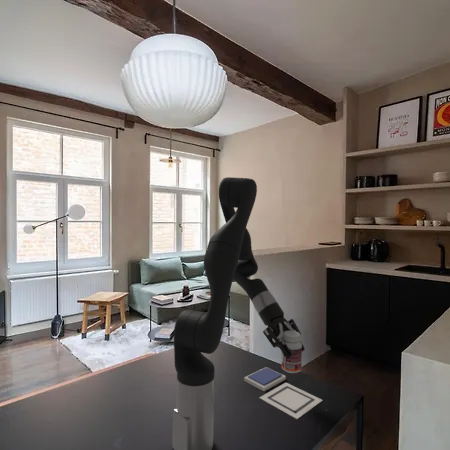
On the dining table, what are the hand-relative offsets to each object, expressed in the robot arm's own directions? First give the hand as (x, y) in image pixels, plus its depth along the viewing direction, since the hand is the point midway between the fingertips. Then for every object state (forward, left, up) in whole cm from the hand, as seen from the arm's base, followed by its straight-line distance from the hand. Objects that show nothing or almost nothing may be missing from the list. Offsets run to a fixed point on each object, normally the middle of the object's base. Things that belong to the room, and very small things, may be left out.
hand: (296, 354), depth 97 cm
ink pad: (+3, +15, -15) cm, 21 cm away
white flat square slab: (0, +2, -15) cm, 15 cm away
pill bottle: (0, +2, -5) cm, 6 cm away
